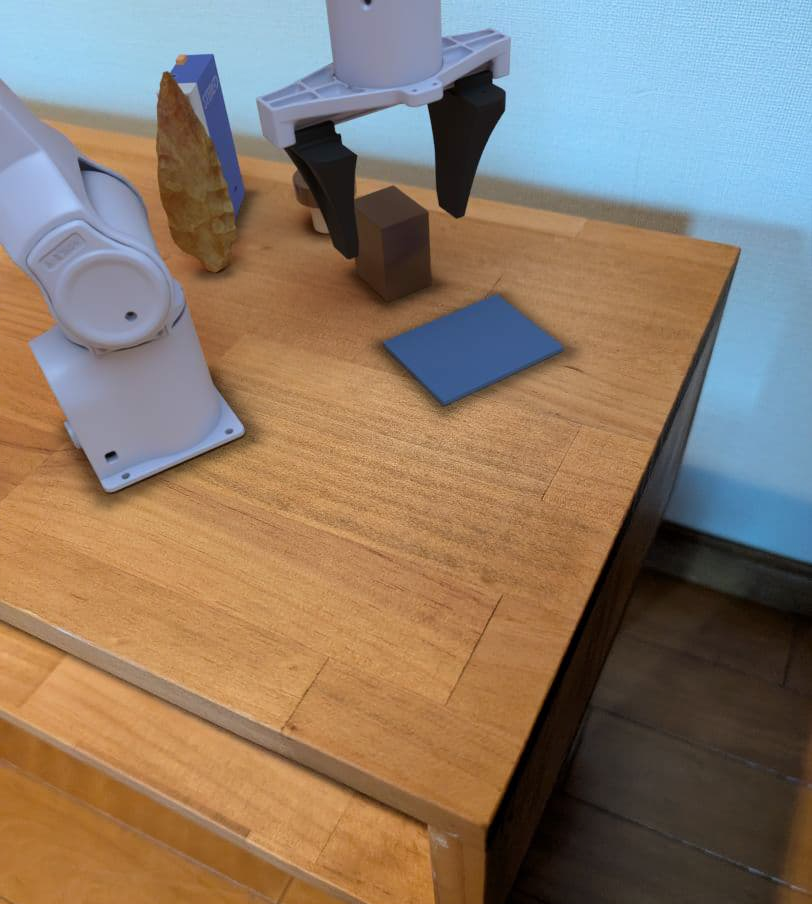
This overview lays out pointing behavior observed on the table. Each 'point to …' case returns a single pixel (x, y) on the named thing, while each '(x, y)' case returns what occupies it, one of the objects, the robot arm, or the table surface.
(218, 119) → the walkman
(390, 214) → the block
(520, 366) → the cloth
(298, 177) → the mushroom
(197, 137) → the stone tool
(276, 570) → the table surface
